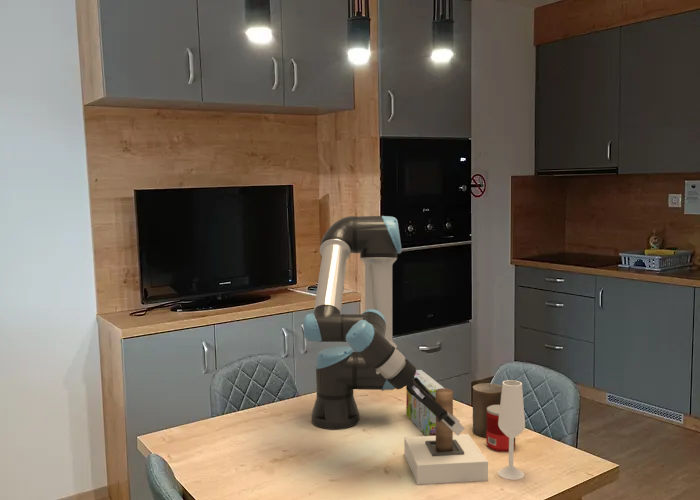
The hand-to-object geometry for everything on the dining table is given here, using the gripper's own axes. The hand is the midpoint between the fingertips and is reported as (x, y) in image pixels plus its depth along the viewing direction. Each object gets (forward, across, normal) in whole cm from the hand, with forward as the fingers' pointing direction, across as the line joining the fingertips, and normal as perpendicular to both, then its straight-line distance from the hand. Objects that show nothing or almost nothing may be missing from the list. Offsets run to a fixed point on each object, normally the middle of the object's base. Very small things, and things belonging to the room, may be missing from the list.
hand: (458, 427), depth 172 cm
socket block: (+5, 0, -10) cm, 11 cm away
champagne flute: (+16, +6, +1) cm, 17 cm away
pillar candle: (+18, -22, +3) cm, 29 cm away
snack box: (+6, -29, -9) cm, 31 cm away
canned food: (+18, -11, +3) cm, 22 cm away
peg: (+1, 0, -7) cm, 7 cm away
